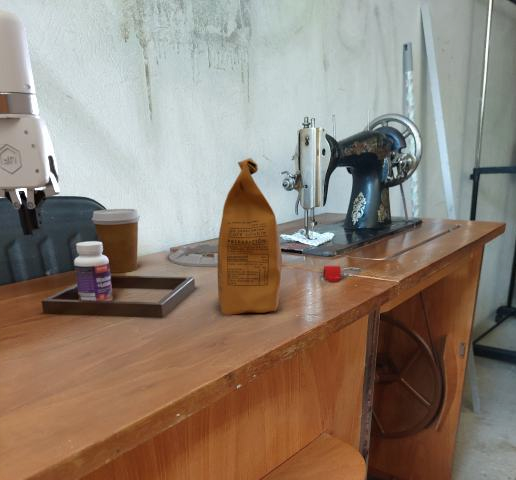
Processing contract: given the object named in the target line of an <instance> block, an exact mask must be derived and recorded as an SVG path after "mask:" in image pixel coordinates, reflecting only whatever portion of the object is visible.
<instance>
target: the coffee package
mask: <svg viewBox="0 0 516 480" xmlns="http://www.w3.org/2000/svg"><path fill="white" fill-rule="evenodd" d="M237 165H238V167H239V168H240V172H239V174H238V176H237V177H236V179H235V181H234V182H233V184H232V185H231V188H230V189H229V191H228V193H227V195H226V198H225V201H224V204H223V209H222V215H221V216H222V217H221V222H220V227H219V233H218V240H217V241H218V242H217V246H218V252H217V254H218V266H217V288H218V289H217V294H218V295H217V296H218V304H219V309H220V311H221V313H222V315H223V316H234V315H241V314H250V313H253V314H254V313H255V314H262V313H263V314H265V313H267V312H268V313H269V312H276V311H277V310H278V307H279V301H280V295H281V286H282V284H281V283H282V270H283V269H282V268H283V263H282V262H283V260H282V259H283V258H282V249H281V241H280V234H279V227H278V222H277V218H276V214H275V212H274V210H273V208H272V206H271V205H270V203H269V202H268V200H267V198H266V197H265V195H264V194H263V192H262V191H261V189H260V188H259V186H258V185H257V183H256V182H255V180H254V178H253V176H252V175H254V174H256V173H257V172H258V170H259V166H258V164H257V163H256V162H255V160H254V159H253V158H251V157H249V158H246V159H244V160H240V161H238V162H237Z"/></svg>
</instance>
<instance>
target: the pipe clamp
mask: <svg viewBox="0 0 516 480" xmlns="http://www.w3.org/2000/svg"><path fill="white" fill-rule="evenodd" d="M341 271H342V270H341V266H340V265H324V266H323V276H325V277H324V278H325V281H327V282H329V283H339V282H340V281H341V279H342V272H341Z"/></svg>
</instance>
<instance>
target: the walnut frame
mask: <svg viewBox="0 0 516 480" xmlns="http://www.w3.org/2000/svg"><path fill="white" fill-rule="evenodd" d="M110 277H111V285H112V289H138V290H139V289H141V290H143V289H144V290H171V291H170V292H168V293H167V294H166V295H165V296H163V297H162V298H161V299H160V300H158V301H157V302H156V301H155V302H154V301H124V300H123V301H121V300H110V301H92V300H79V295H78V287H77V282H76V283H74V284H73V285H71V286H68V287H67V288H64V289H62V290H61V291H59V292H56V293H54V294H53V295H50V296H48V297H46V298H44V299H42V300H41V306H42V307H41V308H42V313H43V315H64V316H90V317H91V316H92V317H93V316H95V317H120V318H121V317H123V318H147V319H148V318H150V319H163V318H165V317H166V316H167V315H168V314H169V313H170V312H171V311H173V309H175V307H176V306H178V305H179V304H180V303H181V302H182V301H183V300H184V299H185V298H187V297H188V296H189V295H190V294H191V293H192V292H193V291H194V290H195V289H196V281H195V277H194V276H161V275H160V276H159V275H158V276H156V275H115V274H114V275H112V274H110Z"/></svg>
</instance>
